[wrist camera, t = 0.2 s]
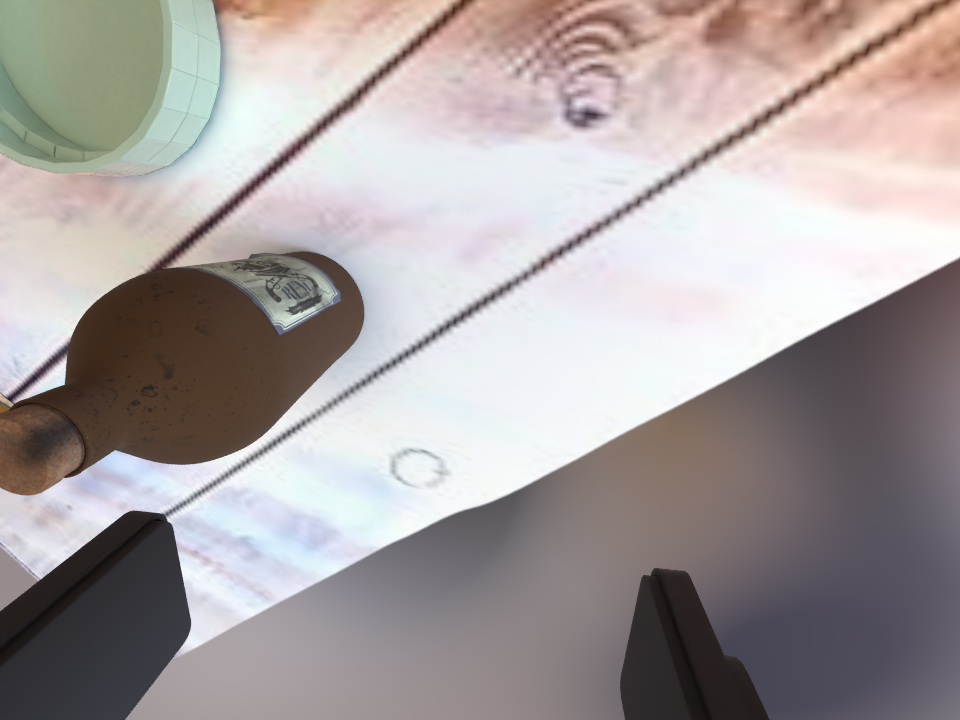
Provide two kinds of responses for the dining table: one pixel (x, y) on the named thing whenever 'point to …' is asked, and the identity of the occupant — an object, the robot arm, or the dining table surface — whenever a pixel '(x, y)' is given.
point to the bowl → (105, 82)
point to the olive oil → (184, 366)
